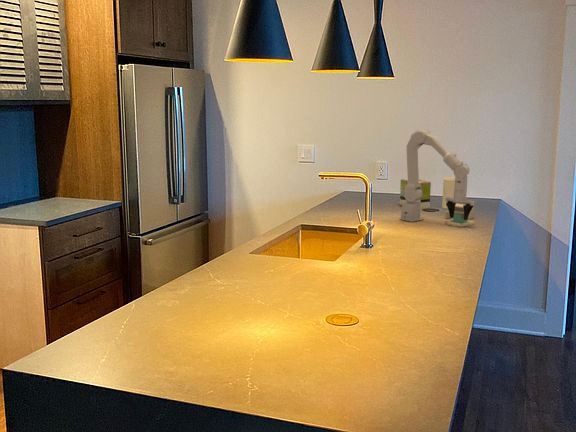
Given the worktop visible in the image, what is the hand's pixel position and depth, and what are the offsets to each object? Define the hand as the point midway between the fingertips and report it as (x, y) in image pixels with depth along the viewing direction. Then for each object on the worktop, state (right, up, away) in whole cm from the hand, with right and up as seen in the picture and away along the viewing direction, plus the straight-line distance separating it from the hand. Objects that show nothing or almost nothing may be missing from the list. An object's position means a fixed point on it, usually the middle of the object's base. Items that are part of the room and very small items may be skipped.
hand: (458, 218), depth 310 cm
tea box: (-12, +6, +49) cm, 50 cm away
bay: (+4, 0, +18) cm, 18 cm away
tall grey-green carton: (+1, -2, +2) cm, 3 cm away
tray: (+1, -3, +2) cm, 3 cm away
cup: (+7, +6, +47) cm, 48 cm away
